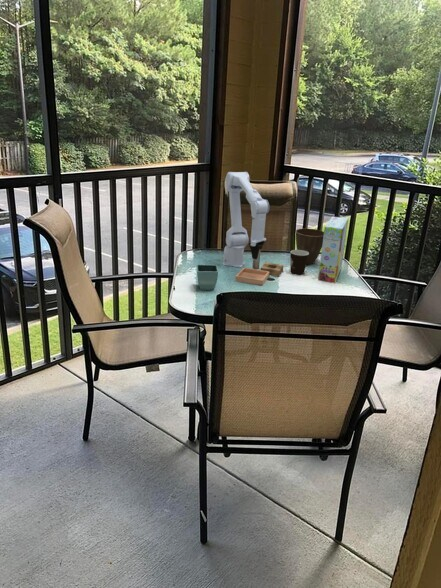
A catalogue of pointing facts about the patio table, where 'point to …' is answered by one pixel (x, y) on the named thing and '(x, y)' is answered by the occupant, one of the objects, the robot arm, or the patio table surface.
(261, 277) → the dish
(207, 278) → the flower pot
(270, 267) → the block
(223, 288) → the patio table surface
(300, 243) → the plant pot
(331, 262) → the snack box
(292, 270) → the coffee mug
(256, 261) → the pin
